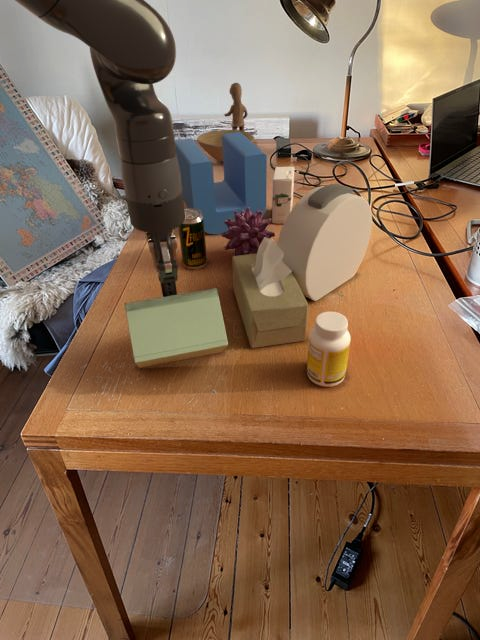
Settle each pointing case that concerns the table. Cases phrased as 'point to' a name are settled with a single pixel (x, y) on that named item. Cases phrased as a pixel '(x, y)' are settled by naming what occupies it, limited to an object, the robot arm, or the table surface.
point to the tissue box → (269, 297)
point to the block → (234, 191)
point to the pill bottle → (328, 349)
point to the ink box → (282, 194)
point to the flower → (246, 232)
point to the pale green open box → (176, 327)
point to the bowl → (217, 142)
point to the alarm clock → (326, 238)
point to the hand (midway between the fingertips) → (169, 295)
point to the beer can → (193, 239)
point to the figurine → (237, 108)
